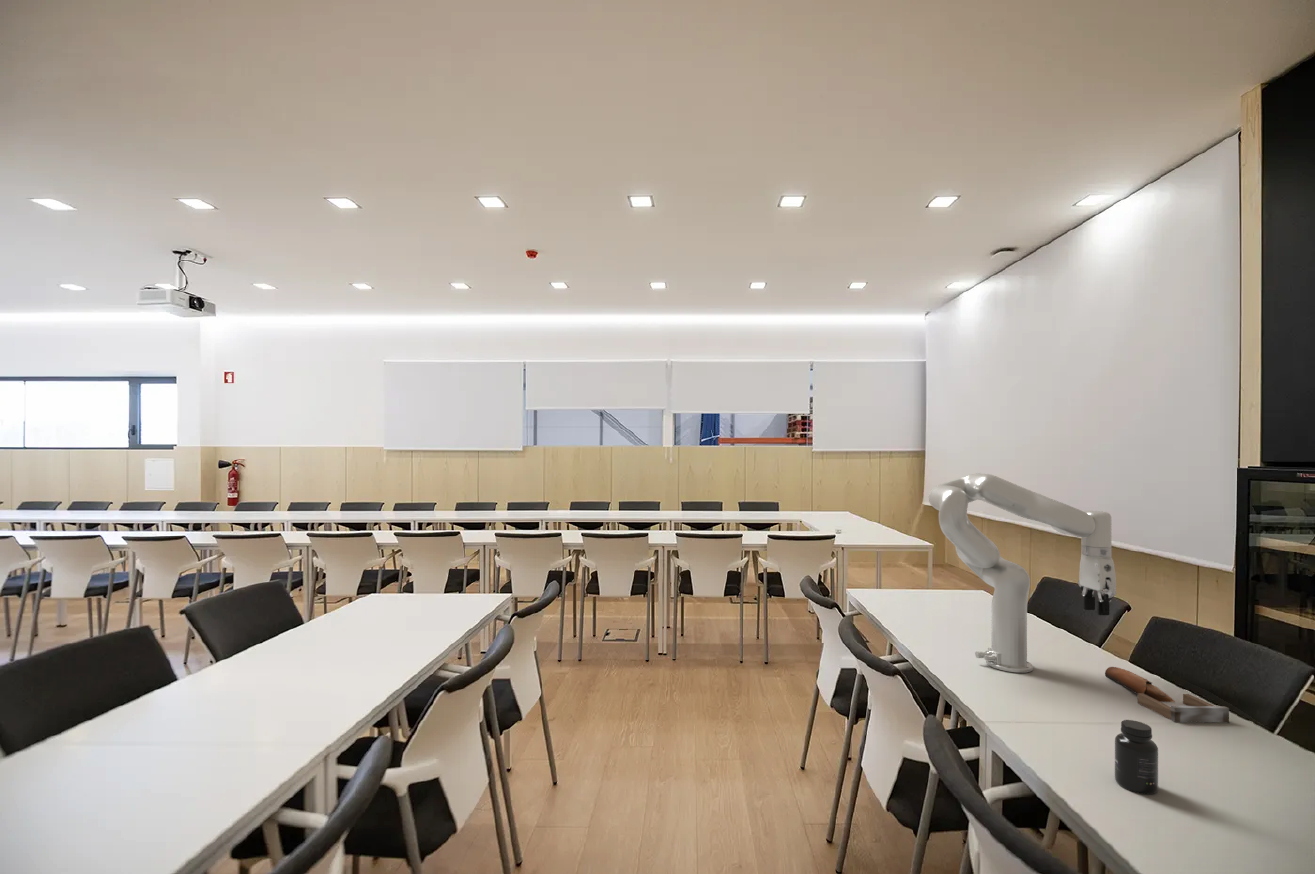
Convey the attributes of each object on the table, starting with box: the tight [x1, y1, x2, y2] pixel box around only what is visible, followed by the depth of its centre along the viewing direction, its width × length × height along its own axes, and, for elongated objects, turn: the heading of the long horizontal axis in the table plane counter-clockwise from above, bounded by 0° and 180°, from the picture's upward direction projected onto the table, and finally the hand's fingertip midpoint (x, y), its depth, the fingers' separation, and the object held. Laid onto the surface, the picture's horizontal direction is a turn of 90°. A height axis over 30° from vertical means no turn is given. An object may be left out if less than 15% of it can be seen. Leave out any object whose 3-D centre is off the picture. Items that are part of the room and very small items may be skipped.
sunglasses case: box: [1104, 666, 1176, 703], centre depth 176 cm, size 18×7×7 cm
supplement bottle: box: [1114, 719, 1159, 795], centre depth 124 cm, size 7×7×12 cm
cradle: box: [1137, 693, 1230, 723], centre depth 160 cm, size 13×12×4 cm
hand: (1096, 611), depth 191 cm, fingers open, 5 cm apart
